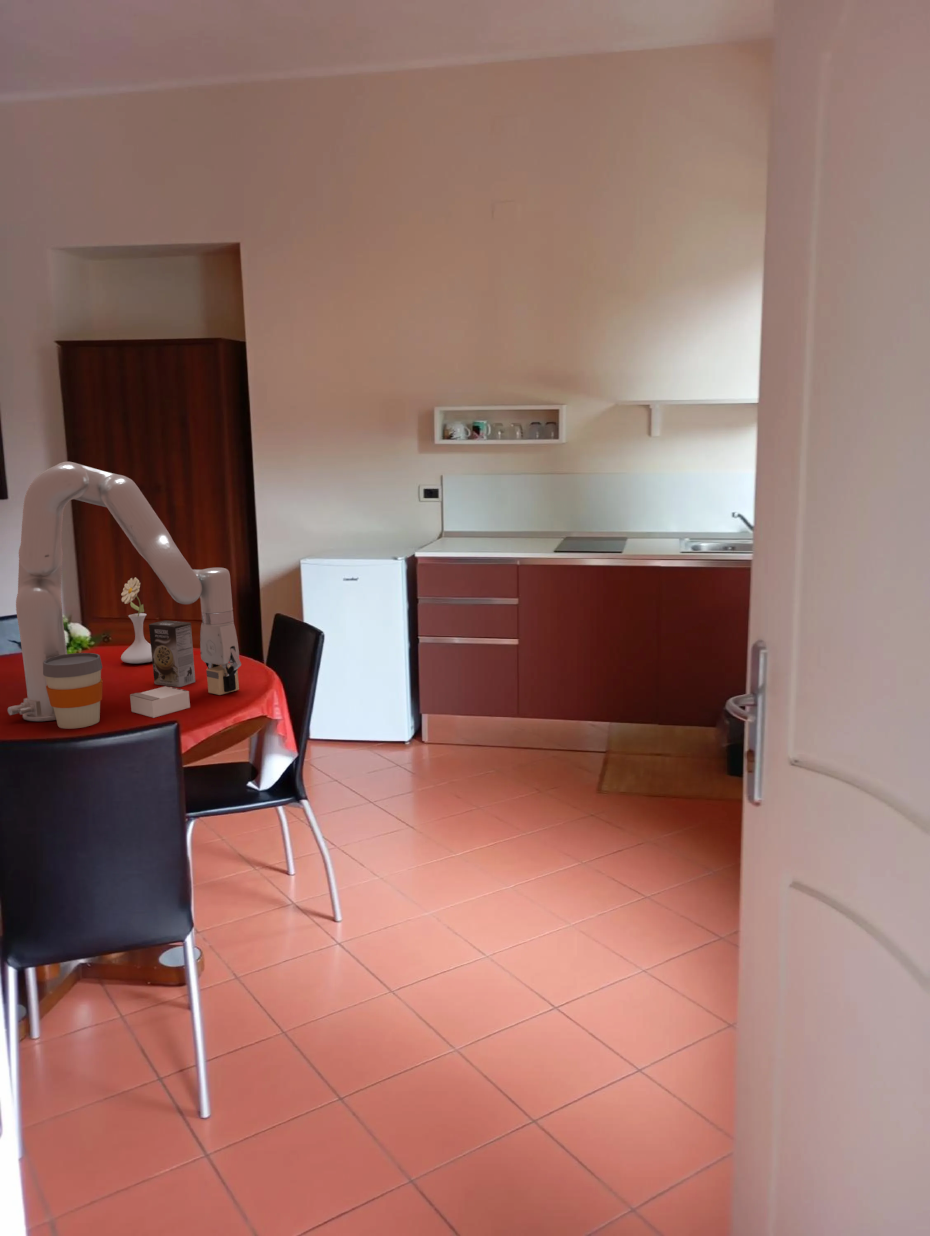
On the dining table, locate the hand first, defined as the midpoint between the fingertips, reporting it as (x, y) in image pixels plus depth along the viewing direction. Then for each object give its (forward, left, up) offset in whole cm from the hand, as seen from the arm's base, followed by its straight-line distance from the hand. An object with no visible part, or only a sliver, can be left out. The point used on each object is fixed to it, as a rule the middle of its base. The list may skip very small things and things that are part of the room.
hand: (223, 688), depth 248 cm
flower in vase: (+8, +48, -1) cm, 49 cm away
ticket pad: (-18, 0, -1) cm, 18 cm away
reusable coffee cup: (-35, +7, -1) cm, 36 cm away
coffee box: (-1, +19, -1) cm, 19 cm away
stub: (0, 0, -1) cm, 1 cm away
